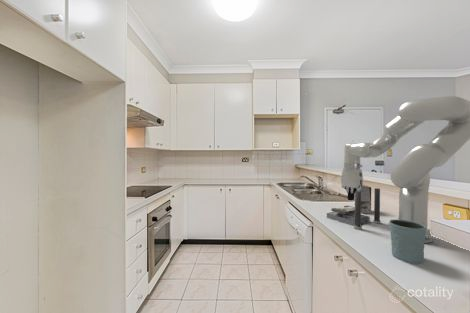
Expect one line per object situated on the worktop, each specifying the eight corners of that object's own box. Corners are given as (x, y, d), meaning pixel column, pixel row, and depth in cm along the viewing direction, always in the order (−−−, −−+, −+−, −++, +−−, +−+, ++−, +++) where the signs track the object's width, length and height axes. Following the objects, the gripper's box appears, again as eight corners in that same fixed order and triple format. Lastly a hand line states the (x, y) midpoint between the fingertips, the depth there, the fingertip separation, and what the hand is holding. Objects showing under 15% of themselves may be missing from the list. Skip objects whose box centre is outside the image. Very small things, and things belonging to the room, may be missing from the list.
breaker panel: (370, 221, 114) (370, 210, 114) (353, 226, 106) (353, 214, 106) (342, 213, 128) (342, 204, 127) (326, 217, 120) (326, 207, 120)
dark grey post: (381, 223, 111) (382, 188, 110) (378, 224, 109) (378, 189, 109) (375, 221, 113) (375, 188, 113) (372, 222, 112) (372, 188, 112)
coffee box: (371, 213, 128) (372, 187, 127) (360, 213, 128) (360, 187, 128) (364, 209, 137) (364, 185, 136) (354, 209, 138) (354, 184, 137)
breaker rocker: (356, 209, 115) (355, 206, 115) (351, 210, 113) (350, 207, 113) (341, 210, 122) (340, 207, 123) (336, 211, 120) (336, 208, 121)
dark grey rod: (363, 229, 102) (363, 191, 102) (359, 230, 101) (359, 192, 100) (356, 227, 105) (356, 190, 105) (352, 228, 104) (352, 191, 103)
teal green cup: (414, 267, 68) (415, 230, 68) (382, 253, 77) (382, 221, 77) (432, 260, 72) (432, 226, 72) (399, 248, 82) (399, 217, 81)
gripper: (370, 167, 110) (369, 202, 111) (343, 165, 123) (342, 196, 124) (361, 167, 106) (360, 204, 107) (335, 165, 119) (334, 197, 120)
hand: (350, 199), depth 115 cm, fingers closed
